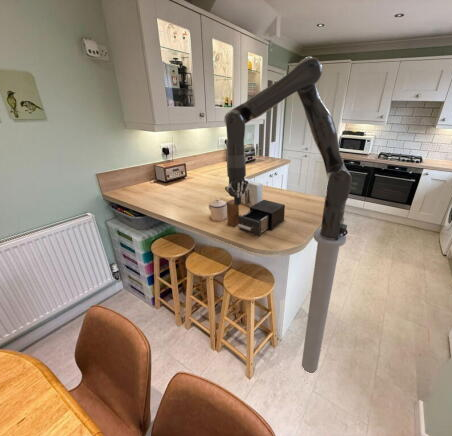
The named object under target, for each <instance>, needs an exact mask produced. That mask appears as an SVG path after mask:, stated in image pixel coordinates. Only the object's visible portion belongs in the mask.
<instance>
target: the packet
mask: <svg viewBox="0 0 452 436" xmlns="http://www.w3.org/2000/svg"><path fill="white" fill-rule="evenodd" d="M225 202H226V214H227V218H226V220H227V225H228V226H230V227H235V226H238V224H239V216H240V205H235V203H234V198H233V199H230V200H228V201H225Z"/></svg>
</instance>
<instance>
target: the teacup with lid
mask: <svg viewBox="0 0 452 436" xmlns="http://www.w3.org/2000/svg"><path fill="white" fill-rule="evenodd" d="M226 202H227V201H225V200H221V199H220V198H219V197H218V198H215V200H212V201H211V202H210V203H209V204H208V209H209V211H210V217H211V220H213V221H214V222H221V221H224V220H227V204H226Z"/></svg>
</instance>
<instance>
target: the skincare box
mask: <svg viewBox="0 0 452 436" xmlns="http://www.w3.org/2000/svg"><path fill="white" fill-rule="evenodd" d="M244 178H245V180H246V181H248V184H247V187H246V190H245V192H244V194H242V196H241V204H244V205H246V206H248V207H249V208H250V207H252V206H253V205H255V204H257V203H259V202H260V201H262V200H263V198H264V197H263V183H262V182H259V181H256V180H252V179H249V178H246V177H244Z"/></svg>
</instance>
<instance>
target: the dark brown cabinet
mask: <svg viewBox="0 0 452 436" xmlns="http://www.w3.org/2000/svg"><path fill="white" fill-rule="evenodd" d="M251 210H256V211H259V212H263V213H267V214H270V215H271V216H270V228H268V229H267V230H269V231H273V230H274V229H275V228H276V227H278V226H279V225H280V224H282V223H283V222H284V221H285V213H286V211H285V210H286V204H283V203H279V202H275V201H272V200H268V199H262V201H260V202H259V203H257V204H255V205H253V206H252V207H250V206H249V211H251Z"/></svg>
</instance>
